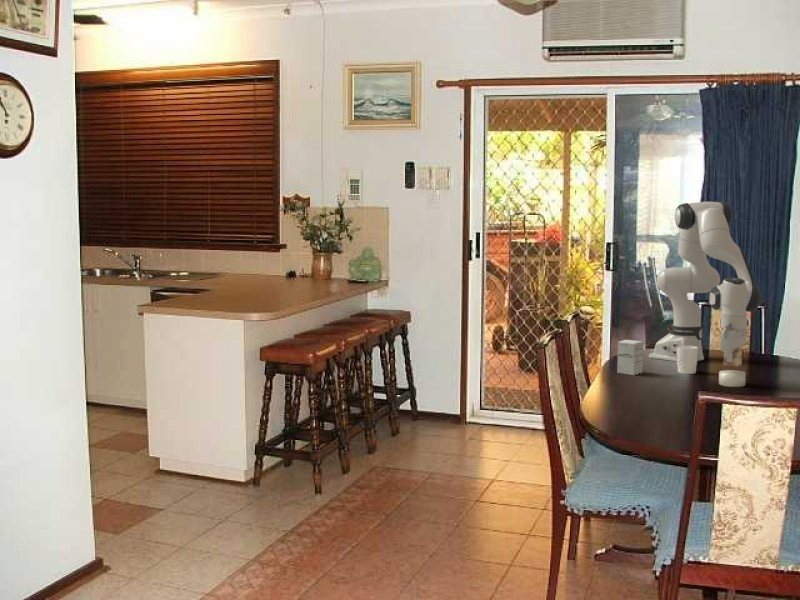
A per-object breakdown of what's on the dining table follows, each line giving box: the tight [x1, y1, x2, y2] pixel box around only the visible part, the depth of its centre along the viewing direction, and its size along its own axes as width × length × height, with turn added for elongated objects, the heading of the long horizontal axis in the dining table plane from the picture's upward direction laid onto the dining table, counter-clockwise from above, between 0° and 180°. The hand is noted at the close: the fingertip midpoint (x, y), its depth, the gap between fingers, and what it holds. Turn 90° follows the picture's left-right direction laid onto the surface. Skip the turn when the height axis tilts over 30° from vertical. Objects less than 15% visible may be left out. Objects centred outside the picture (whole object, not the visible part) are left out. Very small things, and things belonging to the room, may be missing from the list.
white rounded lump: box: [718, 369, 746, 388], centre depth 321 cm, size 9×9×4 cm
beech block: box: [723, 350, 743, 367], centre depth 320 cm, size 5×5×5 cm
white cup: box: [676, 346, 698, 375], centre depth 343 cm, size 8×8×10 cm
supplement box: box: [617, 339, 644, 376], centre depth 344 cm, size 7×7×13 cm
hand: (732, 360), depth 320 cm, fingers closed on beech block, 5 cm apart
